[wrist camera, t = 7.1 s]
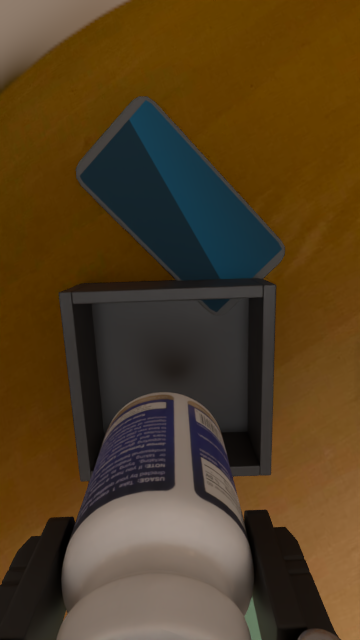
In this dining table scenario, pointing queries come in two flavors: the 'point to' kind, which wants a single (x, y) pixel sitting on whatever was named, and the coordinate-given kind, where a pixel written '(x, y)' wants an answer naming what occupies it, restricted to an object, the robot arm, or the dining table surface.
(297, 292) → the dining table surface
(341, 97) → the dining table surface
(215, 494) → the pill bottle
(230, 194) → the smartphone
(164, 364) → the black box
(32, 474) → the dining table surface
